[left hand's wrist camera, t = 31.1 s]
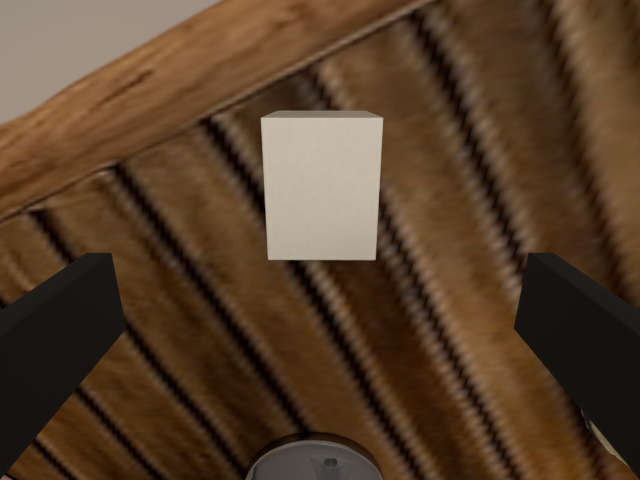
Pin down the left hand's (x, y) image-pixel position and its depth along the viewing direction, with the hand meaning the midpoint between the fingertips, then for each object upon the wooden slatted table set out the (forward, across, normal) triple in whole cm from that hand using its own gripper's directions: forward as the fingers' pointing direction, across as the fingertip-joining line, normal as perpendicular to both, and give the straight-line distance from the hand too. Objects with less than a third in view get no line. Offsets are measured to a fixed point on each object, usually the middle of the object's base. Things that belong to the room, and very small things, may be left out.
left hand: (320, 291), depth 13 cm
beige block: (+20, 0, 0) cm, 20 cm away
